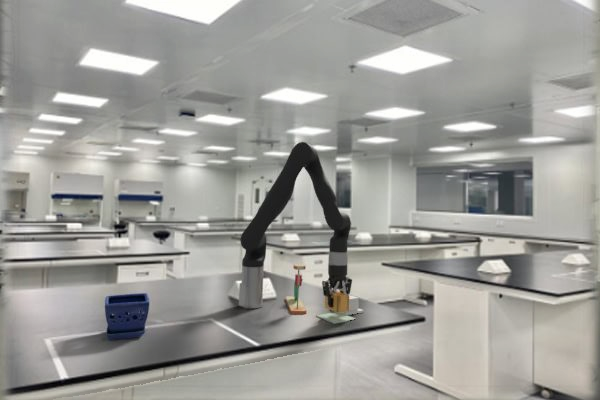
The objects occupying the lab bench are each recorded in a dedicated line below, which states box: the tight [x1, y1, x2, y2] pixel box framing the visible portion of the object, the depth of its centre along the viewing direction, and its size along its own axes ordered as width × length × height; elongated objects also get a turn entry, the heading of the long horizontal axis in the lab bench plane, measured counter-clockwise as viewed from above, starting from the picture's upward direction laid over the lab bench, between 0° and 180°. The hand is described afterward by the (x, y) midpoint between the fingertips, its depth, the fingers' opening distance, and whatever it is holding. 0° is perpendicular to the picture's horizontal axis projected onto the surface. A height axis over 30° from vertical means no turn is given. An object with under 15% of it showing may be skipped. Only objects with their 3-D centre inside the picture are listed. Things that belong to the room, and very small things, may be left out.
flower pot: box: [104, 292, 150, 341], centre depth 131 cm, size 13×13×12 cm
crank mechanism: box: [284, 263, 307, 315], centre depth 174 cm, size 25×7×19 cm, turn 7°
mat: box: [316, 311, 357, 325], centre depth 158 cm, size 11×11×1 cm
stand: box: [329, 275, 365, 316], centre depth 169 cm, size 10×10×14 cm
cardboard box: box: [324, 290, 350, 312], centre depth 158 cm, size 5×8×6 cm
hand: (336, 305), depth 158 cm, fingers closed on cardboard box, 5 cm apart
